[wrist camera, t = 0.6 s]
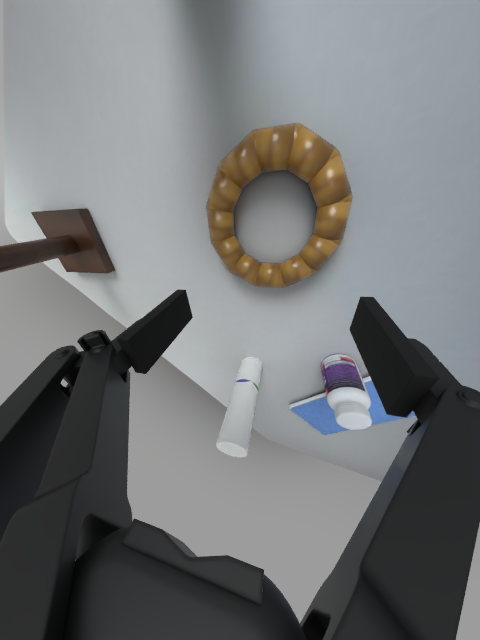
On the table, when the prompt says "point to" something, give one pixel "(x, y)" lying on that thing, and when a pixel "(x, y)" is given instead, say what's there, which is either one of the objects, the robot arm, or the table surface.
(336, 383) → the pill bottle
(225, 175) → the ring
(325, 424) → the tablet
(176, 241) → the table surface
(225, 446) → the tube
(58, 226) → the post
